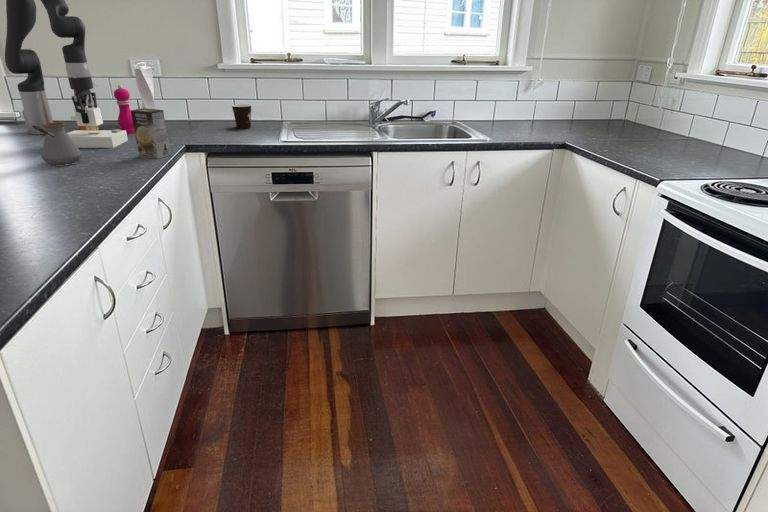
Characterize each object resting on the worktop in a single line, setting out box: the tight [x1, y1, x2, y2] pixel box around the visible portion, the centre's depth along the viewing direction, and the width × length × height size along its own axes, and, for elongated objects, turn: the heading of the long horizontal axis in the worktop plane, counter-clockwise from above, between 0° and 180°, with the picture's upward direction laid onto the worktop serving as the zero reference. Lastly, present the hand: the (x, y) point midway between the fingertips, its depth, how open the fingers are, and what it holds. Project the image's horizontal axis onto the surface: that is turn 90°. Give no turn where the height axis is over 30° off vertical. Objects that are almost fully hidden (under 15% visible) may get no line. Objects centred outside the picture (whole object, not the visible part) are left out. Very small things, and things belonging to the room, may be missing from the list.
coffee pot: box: [30, 122, 82, 166], centre depth 158 cm, size 21×12×15 cm, turn 13°
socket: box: [66, 128, 129, 149], centre depth 193 cm, size 20×14×5 cm
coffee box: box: [130, 107, 171, 160], centre depth 174 cm, size 9×6×16 cm
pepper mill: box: [113, 84, 135, 135], centre depth 212 cm, size 7×7×20 cm
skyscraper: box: [133, 61, 158, 110], centre depth 228 cm, size 8×8×28 cm
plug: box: [70, 107, 104, 131], centre depth 190 cm, size 10×6×8 cm, turn 94°
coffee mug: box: [231, 103, 252, 130], centre depth 228 cm, size 12×9×10 cm
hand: (89, 121), depth 191 cm, fingers closed on plug, 5 cm apart
